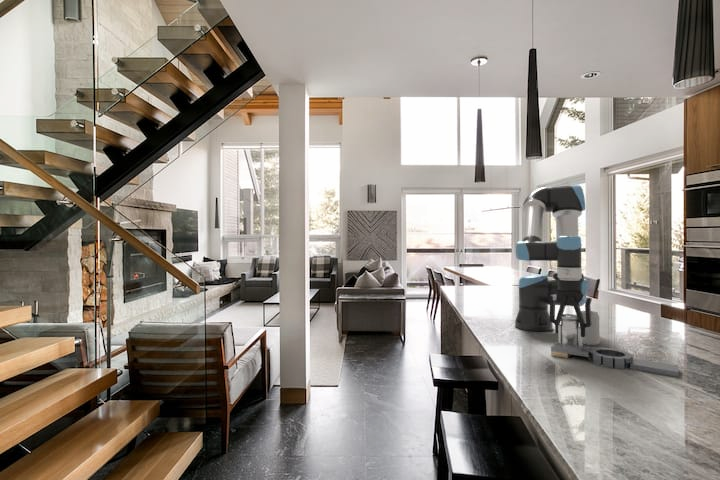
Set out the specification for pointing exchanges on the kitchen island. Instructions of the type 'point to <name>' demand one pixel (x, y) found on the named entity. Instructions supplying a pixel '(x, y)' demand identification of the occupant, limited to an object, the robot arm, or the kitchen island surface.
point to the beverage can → (591, 329)
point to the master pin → (569, 329)
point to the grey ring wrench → (613, 358)
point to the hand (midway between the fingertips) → (570, 344)
